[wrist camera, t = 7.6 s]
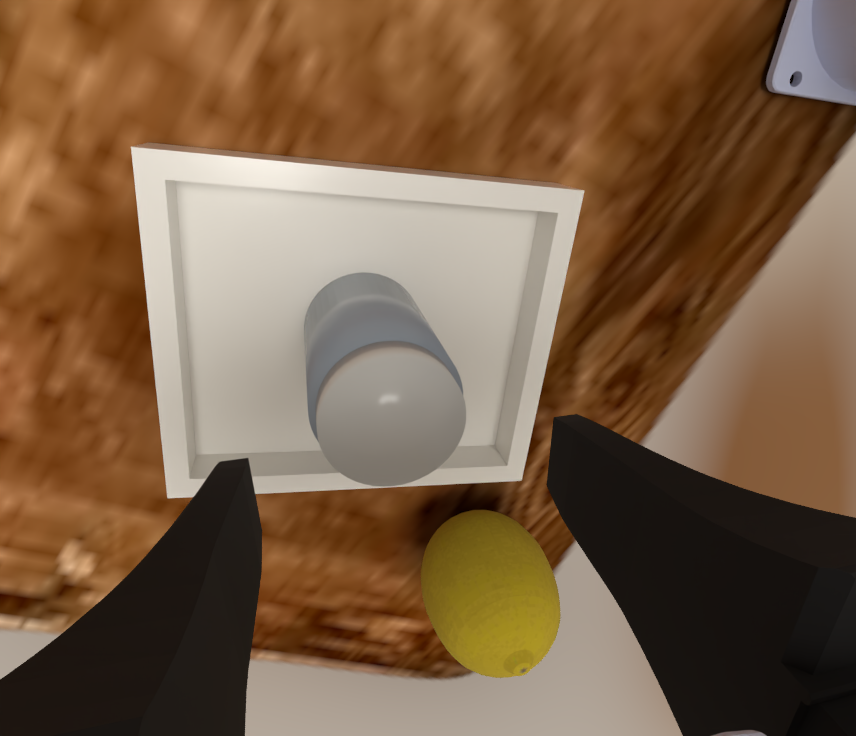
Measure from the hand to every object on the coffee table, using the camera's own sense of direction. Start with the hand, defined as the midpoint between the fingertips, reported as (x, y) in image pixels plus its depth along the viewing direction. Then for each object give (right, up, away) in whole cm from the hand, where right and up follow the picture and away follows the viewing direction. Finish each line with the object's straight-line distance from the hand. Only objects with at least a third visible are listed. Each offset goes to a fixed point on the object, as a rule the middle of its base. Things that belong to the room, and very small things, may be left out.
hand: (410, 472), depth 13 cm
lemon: (+2, -5, +14) cm, 15 cm away
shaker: (-2, +4, +8) cm, 9 cm away
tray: (-2, +4, +8) cm, 10 cm away
